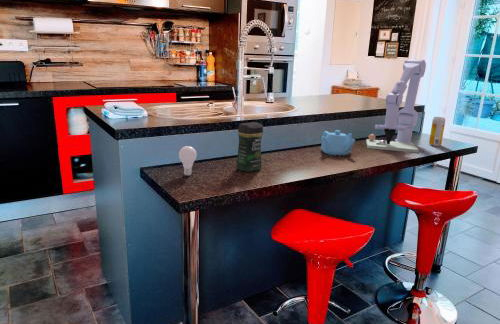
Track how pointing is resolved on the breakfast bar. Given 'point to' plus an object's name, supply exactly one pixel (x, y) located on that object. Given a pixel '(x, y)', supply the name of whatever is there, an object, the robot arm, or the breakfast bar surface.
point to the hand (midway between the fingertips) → (388, 143)
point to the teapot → (336, 143)
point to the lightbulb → (187, 158)
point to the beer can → (437, 131)
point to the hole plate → (392, 146)
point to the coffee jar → (249, 146)
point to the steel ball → (382, 142)
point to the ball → (371, 137)
